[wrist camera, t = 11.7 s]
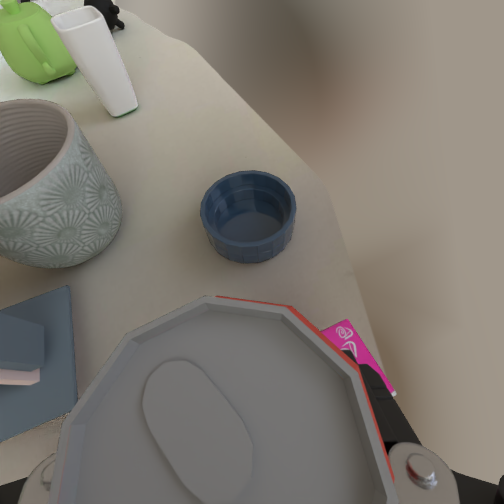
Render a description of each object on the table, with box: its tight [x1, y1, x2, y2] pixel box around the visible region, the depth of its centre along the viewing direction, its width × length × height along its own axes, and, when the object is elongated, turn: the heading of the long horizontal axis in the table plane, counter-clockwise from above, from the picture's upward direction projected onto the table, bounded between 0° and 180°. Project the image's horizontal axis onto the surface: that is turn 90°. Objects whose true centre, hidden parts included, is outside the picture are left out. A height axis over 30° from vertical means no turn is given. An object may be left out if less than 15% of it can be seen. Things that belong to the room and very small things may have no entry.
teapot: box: [0, 0, 77, 84], centre depth 58 cm, size 22×15×13 cm
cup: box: [50, 6, 138, 117], centre depth 47 cm, size 7×7×15 cm
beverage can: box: [48, 296, 399, 504], centre depth 9 cm, size 6×6×12 cm
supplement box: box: [321, 319, 396, 396], centre depth 22 cm, size 6×6×12 cm
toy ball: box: [84, 0, 124, 30], centre depth 67 cm, size 11×11×12 cm
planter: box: [0, 99, 122, 268], centre depth 32 cm, size 17×17×15 cm
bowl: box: [200, 170, 296, 263], centre depth 35 cm, size 12×12×5 cm
